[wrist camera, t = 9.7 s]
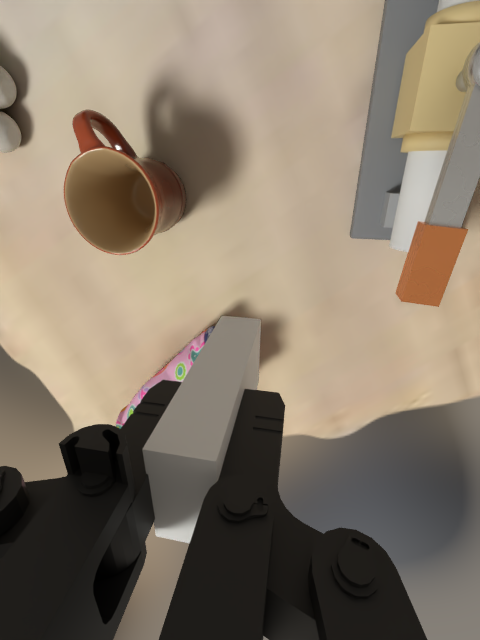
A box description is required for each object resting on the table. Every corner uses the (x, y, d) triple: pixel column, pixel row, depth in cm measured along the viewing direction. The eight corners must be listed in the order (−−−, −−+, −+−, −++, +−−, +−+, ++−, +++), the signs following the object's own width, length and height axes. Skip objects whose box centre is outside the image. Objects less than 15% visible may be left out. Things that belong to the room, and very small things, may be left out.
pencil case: (221, 308, 42) (200, 342, 34) (270, 356, 43) (261, 399, 35) (130, 392, 51) (96, 434, 43) (173, 429, 52) (149, 476, 44)
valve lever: (473, 32, 19) (488, 19, 17) (530, 35, 18) (551, 22, 17) (392, 292, 26) (398, 300, 24) (433, 298, 25) (441, 307, 24)
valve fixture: (397, -84, 25) (456, -250, 15) (546, -101, 23) (722, -300, 13) (349, 235, 35) (365, 261, 25) (451, 240, 33) (510, 269, 23)
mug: (207, 221, 37) (174, 238, 28) (143, 244, 40) (93, 266, 31) (165, 105, 33) (110, 81, 24) (96, 139, 36) (24, 128, 27)
